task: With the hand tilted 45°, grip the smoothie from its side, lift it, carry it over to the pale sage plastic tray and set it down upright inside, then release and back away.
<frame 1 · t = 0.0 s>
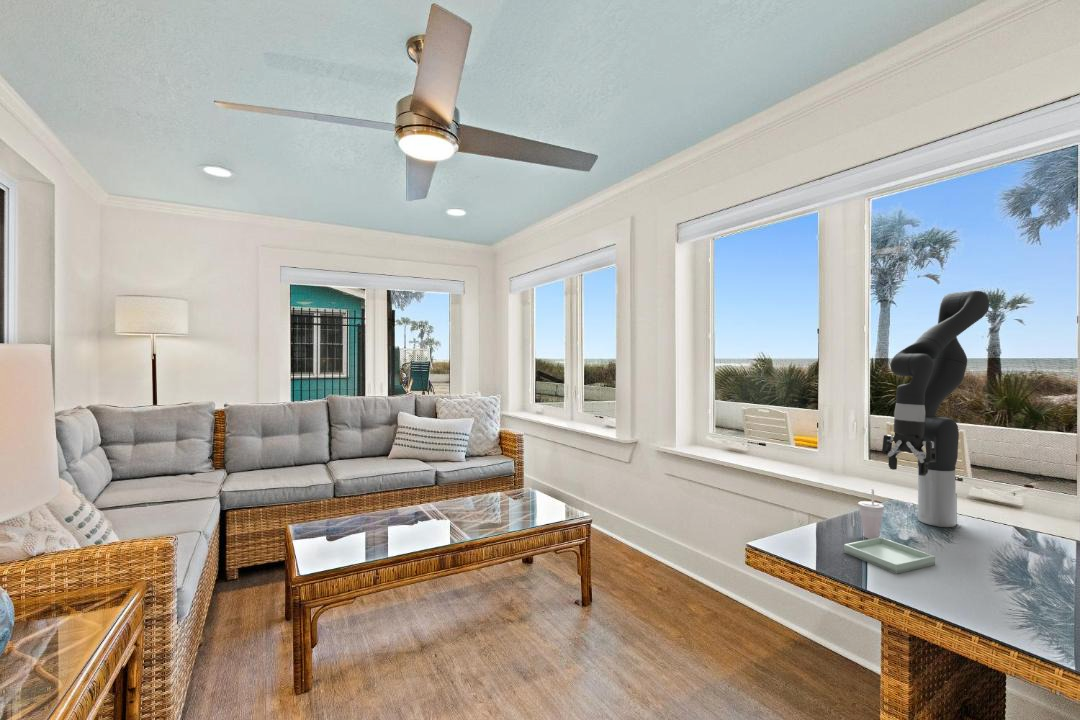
hand: (907, 472, 150), 17 cm above the table, tool pointing down, fingers open, 8 cm apart
tray: (888, 558, 129), on the table
smoothie: (871, 537, 144), on the table
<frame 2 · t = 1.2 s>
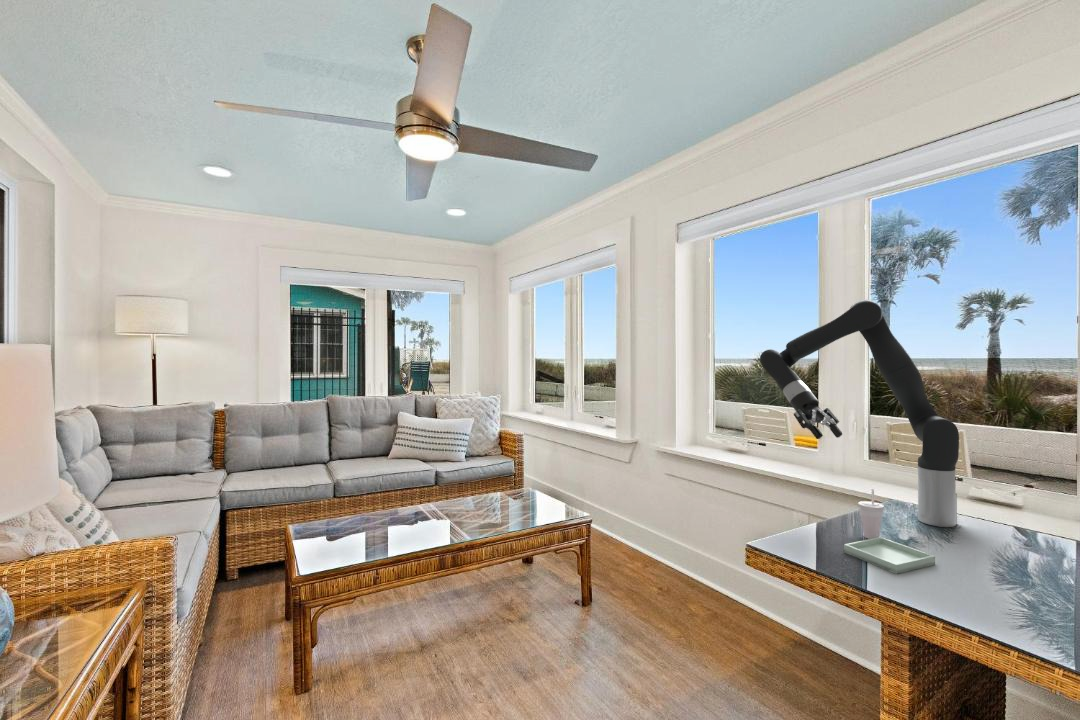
hand: (830, 436, 156), 27 cm above the table, tool tilted 45°, fingers open, 8 cm apart
nothing on the table moved.
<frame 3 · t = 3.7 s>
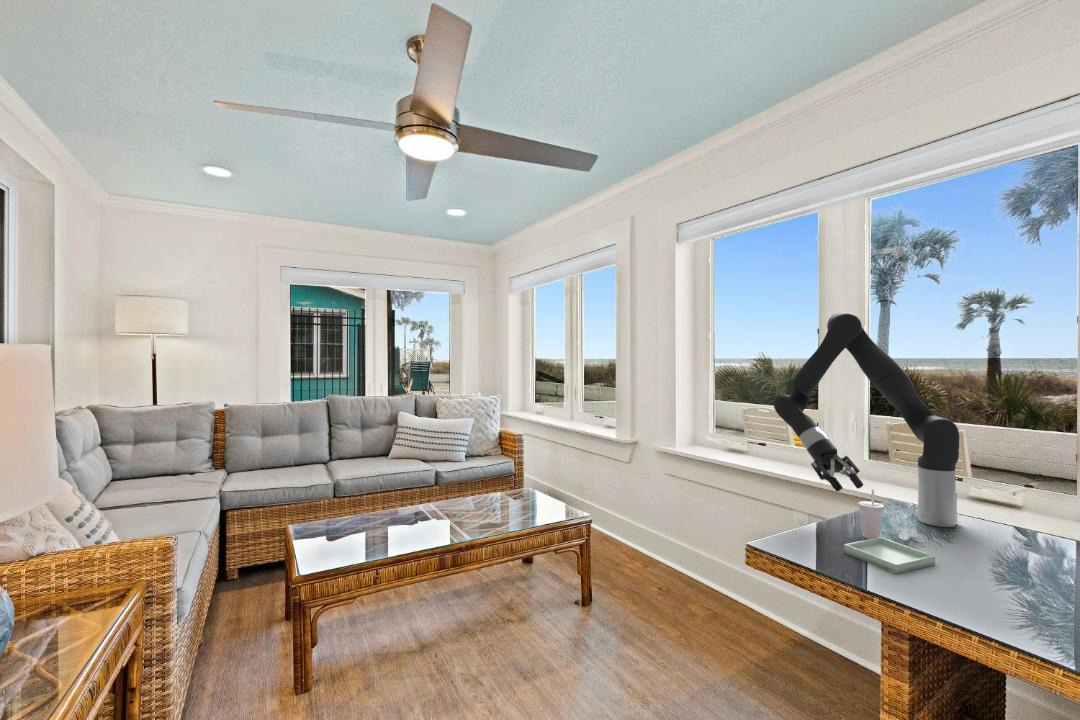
hand: (850, 488, 150), 13 cm above the table, tool tilted 45°, fingers open, 8 cm apart
nothing on the table moved.
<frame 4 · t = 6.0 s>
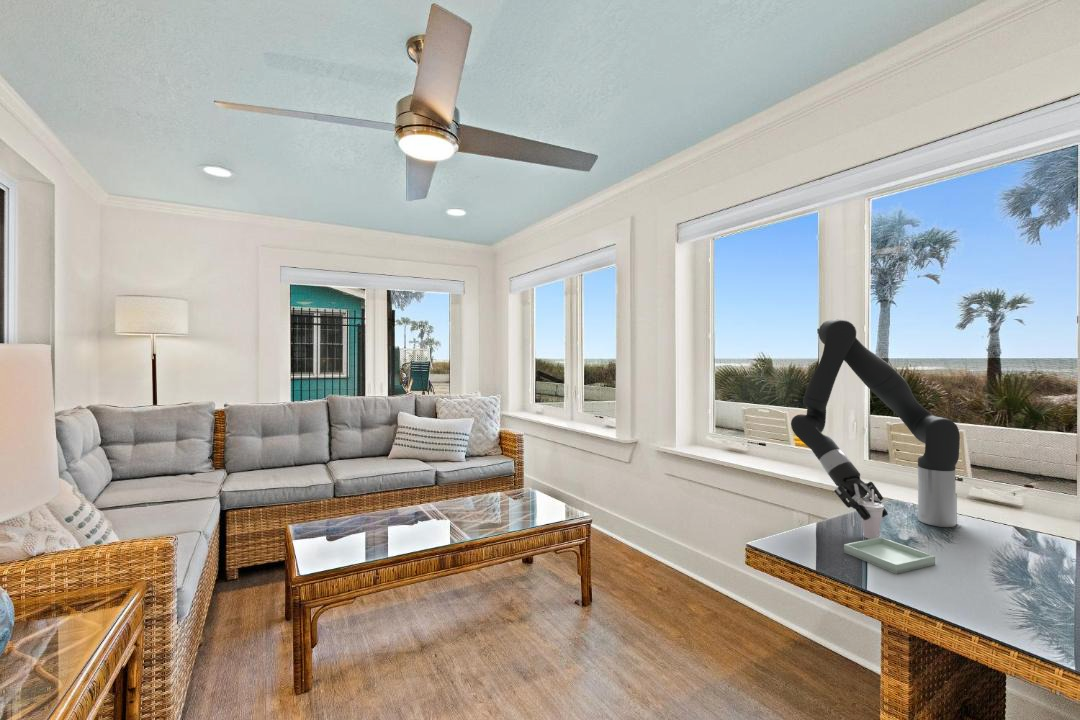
hand: (876, 517, 142), 6 cm above the table, tool tilted 45°, fingers closed on smoothie, 6 cm apart
smoothie: (871, 537, 144), on the table, touching gripper
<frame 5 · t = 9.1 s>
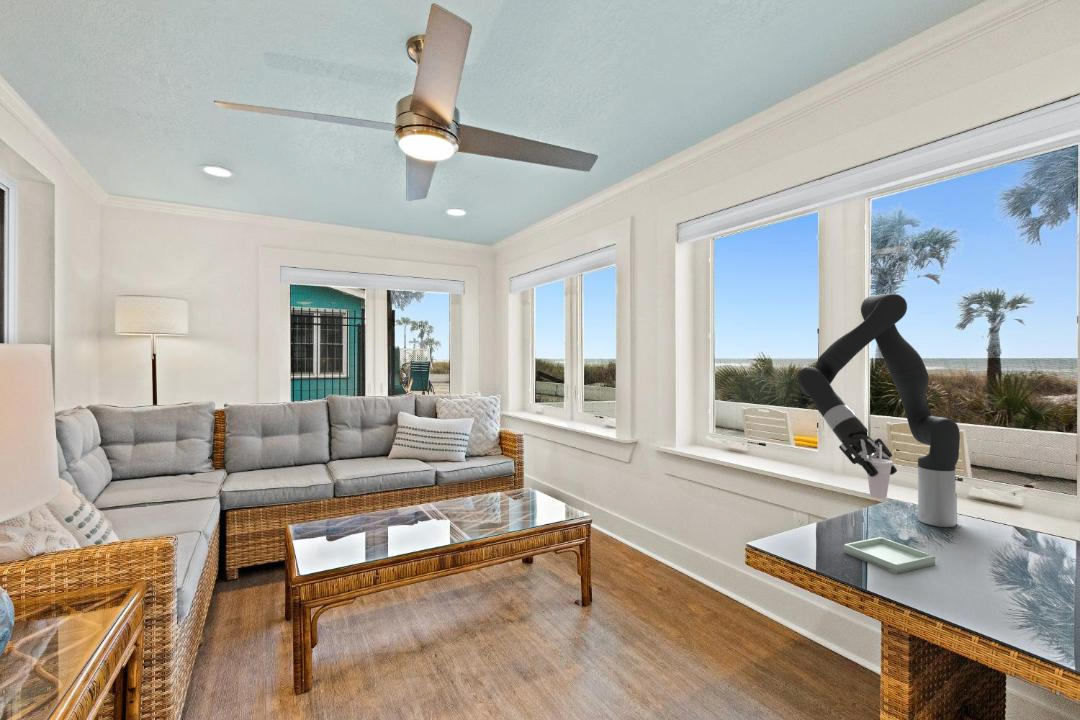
hand: (884, 474, 132), 21 cm above the table, tool tilted 45°, fingers closed on smoothie, 6 cm apart
smoothie: (878, 496, 134), point 15 cm above the table, touching gripper
when the fingers open (8 cm above the table, at t = 12.4 s): smoothie drops 1 cm, resting on tray.
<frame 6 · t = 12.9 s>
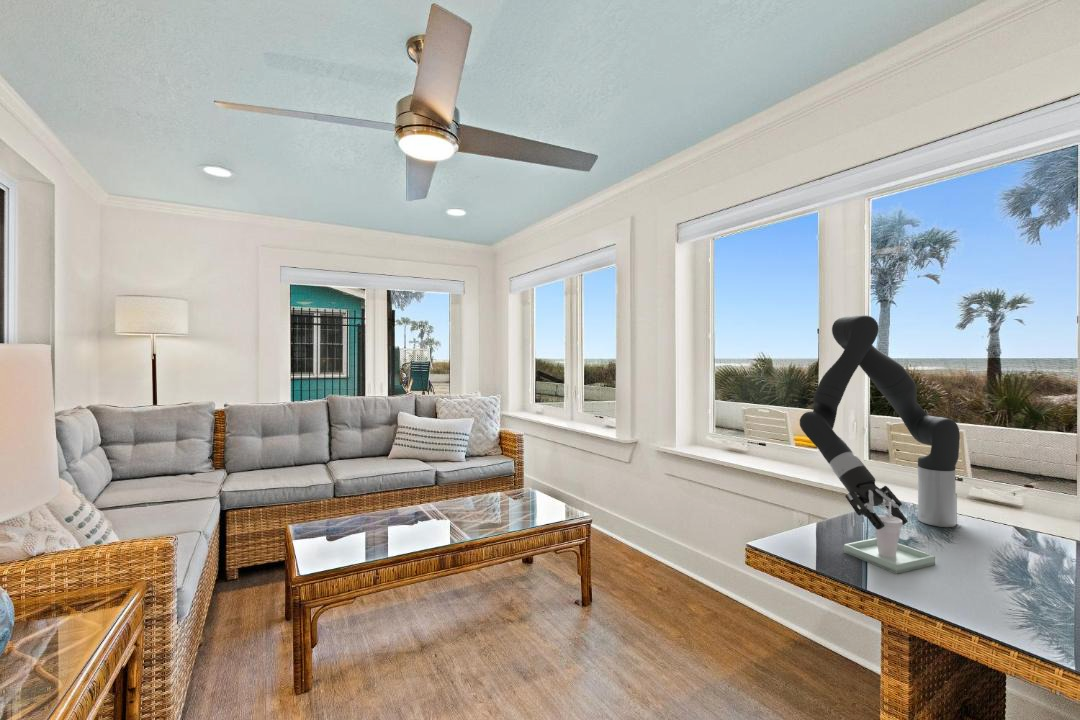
hand: (893, 525, 128), 9 cm above the table, tool tilted 45°, fingers open, 8 cm apart
smoothie: (887, 555, 129), point 1 cm above the table, touching tray
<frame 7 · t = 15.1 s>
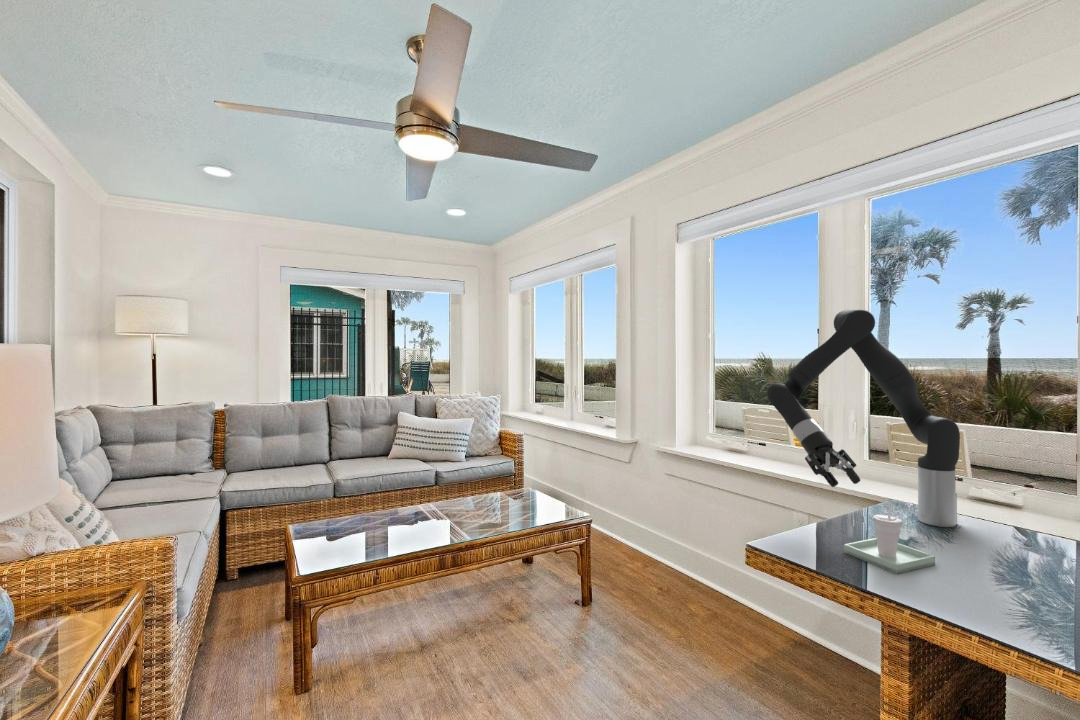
hand: (846, 483, 140), 17 cm above the table, tool tilted 45°, fingers open, 8 cm apart
nothing on the table moved.
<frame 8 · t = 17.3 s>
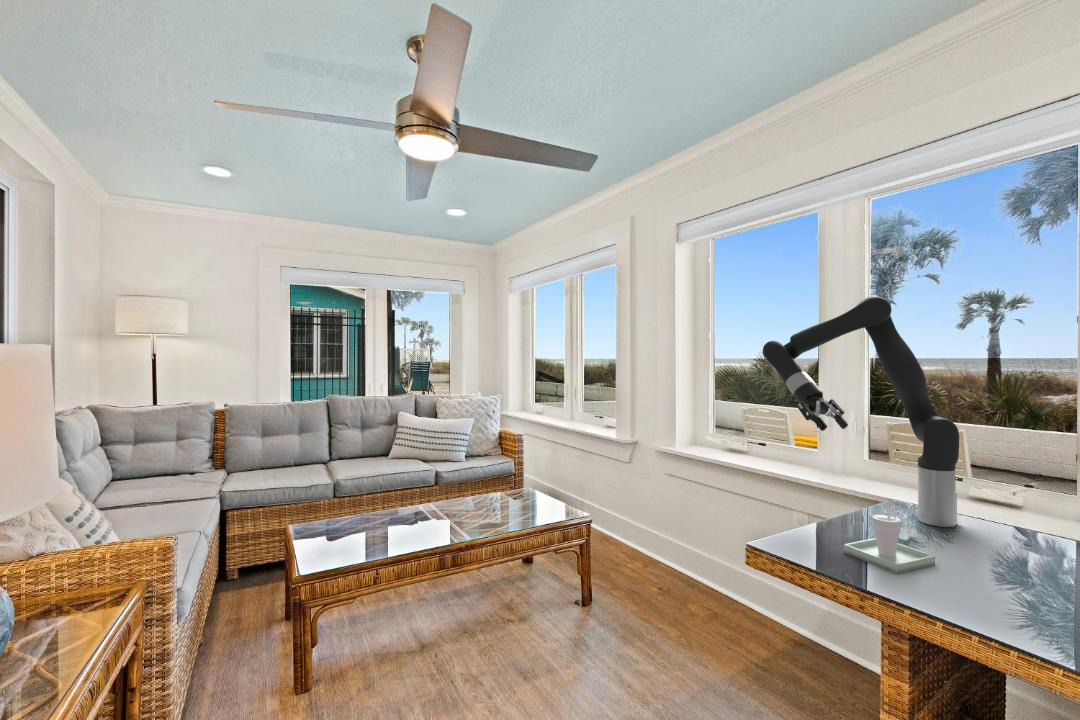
hand: (835, 428, 152), 31 cm above the table, tool tilted 45°, fingers open, 8 cm apart
nothing on the table moved.
at the end: smoothie inside the target area on the tray (0.3 cm from its centre), point 0.6 cm above the tray's base; smoothie tilted 0°; the gripper is holding nothing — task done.
